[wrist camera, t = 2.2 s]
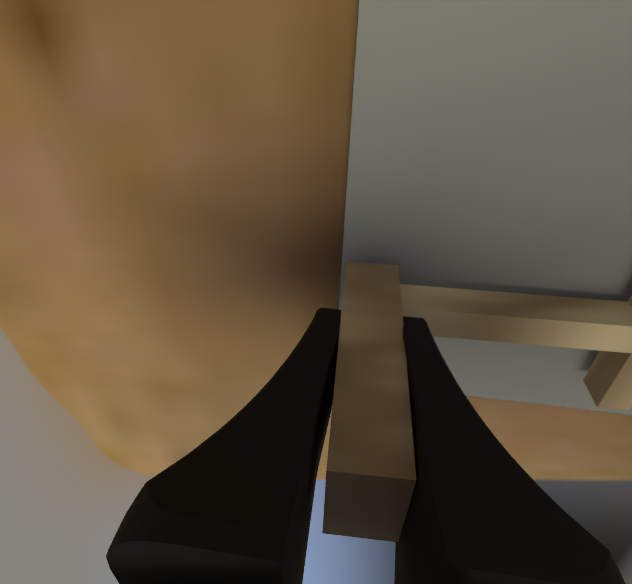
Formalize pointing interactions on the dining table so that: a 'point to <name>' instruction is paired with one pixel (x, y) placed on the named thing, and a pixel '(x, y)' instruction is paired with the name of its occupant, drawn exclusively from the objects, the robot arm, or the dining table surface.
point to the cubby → (496, 167)
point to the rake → (393, 390)
